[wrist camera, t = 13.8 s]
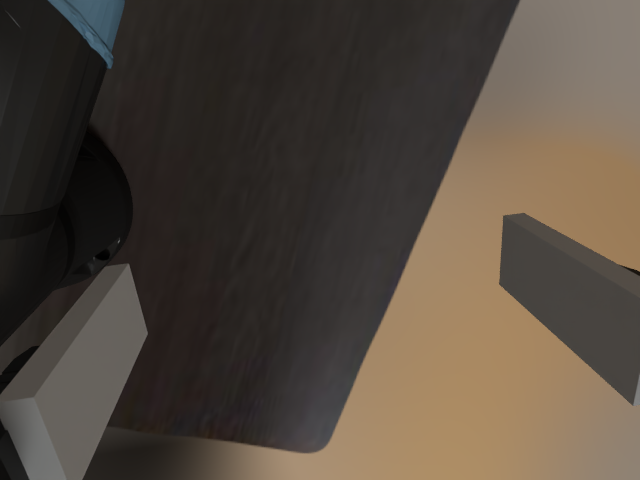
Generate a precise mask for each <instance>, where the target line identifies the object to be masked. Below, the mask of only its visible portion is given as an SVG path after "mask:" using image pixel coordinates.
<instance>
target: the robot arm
mask: <svg viewBox="0 0 640 480" xmlns="http://www.w3.org/2000/svg"><path fill="white" fill-rule="evenodd" d="M124 3H125V0H0V346H1V345H2V344H3V343H4V342H5V341H6V340H7V339H8V338H9V337H10V336H11V335H12V334H13V333H14V332H15V331H16V329H17V328H18V327H19V326H20V325H21V324H22V323H23V322H24V321H25V320H26V319H27V318H28V317H29V316H30V315H31V314H32V313H33V312H34V310H35V309H36V308H37V307H38V306H39V305H40V304H41V303H42V302H43V301H44V300H45V299H46V298H47V297H48V296H49V295H50V294H51V292H52V291H54V290H57V289H60V288H63V287H67V286H70V285H73V284H76V283H79V282H81V281H84V280H86V279H88V278H89V277H91V276H93V275H94V274H96V273H97V272H99V271H100V270H101V269H103V268H104V267H105V268H104V269H103V270H102V271H101V272H100V274H99V275H98V276H97V277H96V279H95V280H94V281H93V282H92V283H91V285H90V286H89V287H88V288H87V289H86V291H85V292H84V293H83V294H82V296H81V297H80V298H79V299H78V300H77V302H76V303H75V304H74V305H73V307H72V308H71V309H70V310H69V311H68V313H67V314H66V315H65V316H64V318H63V319H62V320H61V321H60V322H59V324H58V325H57V326H56V327H55V329H54V330H53V331H52V332H51V333H50V335H49V336H48V337H47V338H46V339H45V341H44V342H43V343H42V344H41V346H34V347H31V348H29V349H28V350H26V351H25V352H24V353H22V354H21V355H19V356H18V357H16V358H15V359H14V360H13V361H12V362H11V363H10V364H9V365H8V367H7V368H6V369H5V370H4V371H3V372H2V375H0V480H82V479H83V477H84V474H85V472H86V470H87V468H88V465H89V463H90V461H91V459H92V456H93V454H94V452H95V450H96V448H97V445H98V443H99V441H100V439H101V437H102V434H103V432H104V430H105V428H106V425H107V423H108V421H109V419H110V416H111V414H112V412H113V410H114V408H115V405H116V403H117V401H118V399H119V396H120V394H121V392H122V390H123V387H124V385H125V383H126V381H127V379H128V376H129V374H130V372H131V370H132V367H133V365H134V363H135V361H136V358H137V356H138V354H139V352H140V350H141V347H142V345H143V343H144V341H145V338H146V336H147V334H148V333H147V329H146V325H145V322H144V318H143V314H142V311H141V307H140V303H139V300H138V296H137V292H136V288H135V285H134V281H133V277H132V274H131V270H130V266H129V263H128V264H121V265H113V266H106V265H107V264H108V263H109V262H110V261H111V260H112V259H113V257H114V256H115V255H116V254H117V253H118V251H119V250H120V249H121V247H122V246H123V244H124V242H125V241H126V239H127V236H128V234H129V231H130V228H131V223H132V217H133V203H132V196H131V191H130V188H129V184H128V182H127V179H126V177H125V175H124V173H123V171H122V169H121V167H120V165H119V164H118V162H117V161H116V160H115V158H114V157H113V155H112V154H111V153H110V152H109V151H108V150H107V149H106V148H105V147H104V146H103V145H102V144H101V143H100V142H99V141H98V140H97V139H96V138H94V137H93V136H92V135H90V134H89V133H87V132H86V129H87V126H88V123H89V120H90V117H91V114H92V111H93V108H94V105H95V102H96V99H97V96H98V93H99V91H100V88H101V85H102V82H103V79H104V76H105V73H106V70H107V68H109V69H111V67H112V64H113V56H112V54H111V52H112V48H113V44H114V40H115V37H116V33H117V30H118V26H119V23H120V19H121V15H122V12H123V8H124ZM501 249H502V250H501V265H500V282H499V284H500V285H501V286H502V287H503V288H504V289H505V290H506V291H507V292H508V293H509V294H510V295H512V296H513V297H514V298H515V299H516V300H517V301H518V302H519V303H520V304H521V305H523V306H524V307H525V308H526V309H527V310H528V311H529V312H530V313H531V314H533V315H534V316H535V317H536V318H537V319H538V320H539V321H540V322H541V323H542V324H543V325H545V326H546V327H547V328H548V329H549V330H550V331H551V332H552V333H553V334H555V335H556V336H557V337H558V338H559V339H560V340H561V341H562V342H563V343H565V344H566V345H567V346H568V347H569V348H570V349H571V350H572V351H573V352H574V353H576V354H577V355H578V356H579V357H580V358H581V359H582V360H583V361H584V362H585V363H586V364H588V365H589V366H590V367H591V368H592V369H593V370H594V371H595V372H596V373H598V374H599V375H600V376H601V377H602V378H603V379H604V380H605V381H606V382H607V383H609V384H610V385H611V386H612V387H613V388H614V389H615V390H616V391H617V392H618V393H620V394H621V395H622V396H623V397H624V398H625V399H626V400H627V401H628V402H629V403H631V404H632V405H633V406H635V405H640V272H639V271H637V270H634V269H630V268H627V267H624V266H621V265H618V264H616V263H615V262H613V261H611V260H609V259H607V258H605V257H604V256H602V255H600V254H598V253H596V252H594V251H593V250H591V249H589V248H587V247H585V246H583V245H581V244H580V243H578V242H576V241H574V240H572V239H571V238H569V237H567V236H565V235H563V234H561V233H559V232H557V231H556V230H554V229H552V228H550V227H549V226H546V225H545V224H543V223H541V222H539V221H537V220H536V219H534V218H532V217H530V216H528V215H526V214H525V213H521V214H512V215H505V216H503V232H502V248H501Z"/></svg>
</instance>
